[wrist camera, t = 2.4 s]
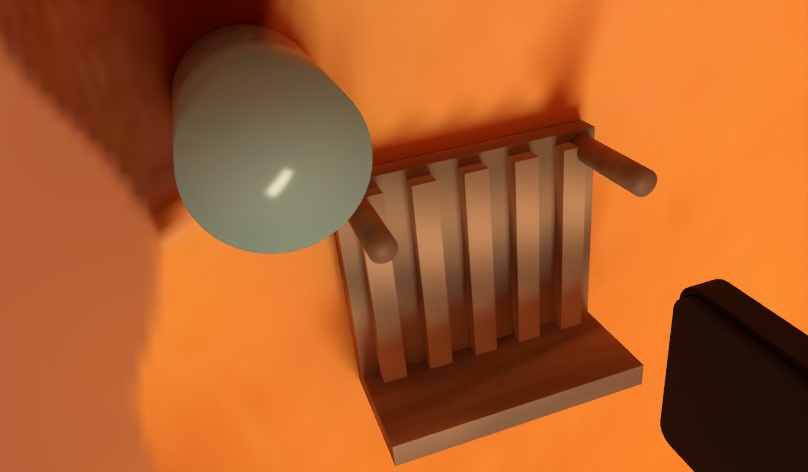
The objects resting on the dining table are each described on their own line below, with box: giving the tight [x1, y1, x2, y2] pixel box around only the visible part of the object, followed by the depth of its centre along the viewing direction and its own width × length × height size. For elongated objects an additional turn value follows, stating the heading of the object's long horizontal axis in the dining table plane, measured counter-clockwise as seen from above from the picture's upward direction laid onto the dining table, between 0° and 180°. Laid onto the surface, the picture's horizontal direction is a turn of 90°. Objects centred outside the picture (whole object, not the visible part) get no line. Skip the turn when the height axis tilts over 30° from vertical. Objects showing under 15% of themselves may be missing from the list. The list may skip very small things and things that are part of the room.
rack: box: [334, 120, 657, 466], centre depth 31 cm, size 12×13×6 cm
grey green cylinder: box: [171, 24, 373, 254], centre depth 23 cm, size 6×6×8 cm
